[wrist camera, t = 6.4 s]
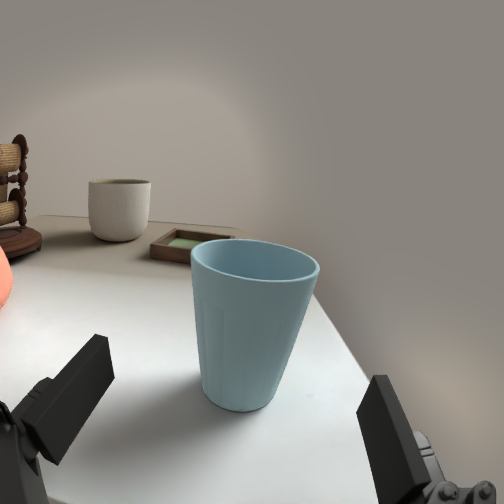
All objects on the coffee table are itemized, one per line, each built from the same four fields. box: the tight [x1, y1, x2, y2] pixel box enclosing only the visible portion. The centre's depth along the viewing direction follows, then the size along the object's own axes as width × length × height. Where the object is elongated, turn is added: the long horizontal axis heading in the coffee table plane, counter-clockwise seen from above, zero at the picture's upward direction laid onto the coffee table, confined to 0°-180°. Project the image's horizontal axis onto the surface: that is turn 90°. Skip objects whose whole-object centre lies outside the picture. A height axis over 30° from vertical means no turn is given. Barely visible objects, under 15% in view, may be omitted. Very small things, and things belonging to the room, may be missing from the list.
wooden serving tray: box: [150, 228, 235, 264], centre depth 50 cm, size 12×12×2 cm
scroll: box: [0, 134, 42, 258], centre depth 33 cm, size 15×15×20 cm
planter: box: [88, 179, 151, 241], centre depth 53 cm, size 12×12×11 cm
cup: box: [191, 239, 320, 412], centre depth 19 cm, size 8×8×10 cm
